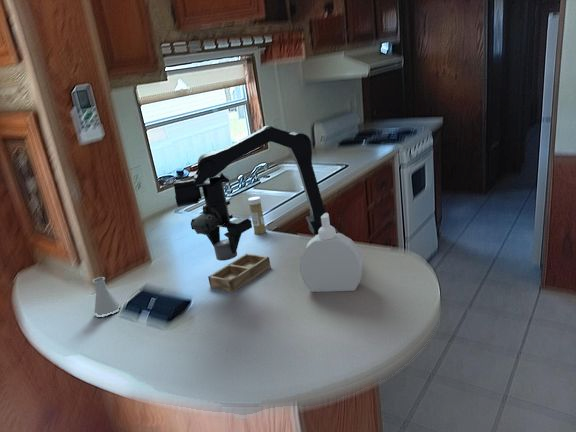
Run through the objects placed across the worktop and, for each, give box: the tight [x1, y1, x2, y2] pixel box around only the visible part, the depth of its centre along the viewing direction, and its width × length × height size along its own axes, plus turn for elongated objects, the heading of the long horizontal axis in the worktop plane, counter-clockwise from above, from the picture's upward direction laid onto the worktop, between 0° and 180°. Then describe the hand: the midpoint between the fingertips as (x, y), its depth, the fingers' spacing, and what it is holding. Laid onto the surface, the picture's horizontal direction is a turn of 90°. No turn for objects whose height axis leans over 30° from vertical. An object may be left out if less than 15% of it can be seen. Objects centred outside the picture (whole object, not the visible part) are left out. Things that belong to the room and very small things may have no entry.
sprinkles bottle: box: [247, 196, 267, 235], centre depth 173 cm, size 5×5×13 cm
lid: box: [213, 239, 238, 261], centre depth 134 cm, size 6×6×4 cm
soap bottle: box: [299, 212, 364, 293], centre depth 122 cm, size 16×5×20 cm, turn 78°
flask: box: [91, 276, 120, 315], centre depth 129 cm, size 7×7×10 cm
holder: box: [207, 253, 271, 293], centre depth 139 cm, size 9×17×3 cm, turn 145°
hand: (226, 252), depth 134 cm, fingers closed on lid, 6 cm apart
